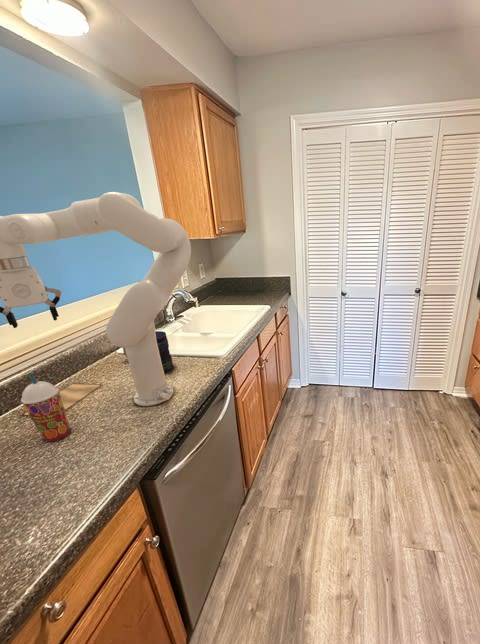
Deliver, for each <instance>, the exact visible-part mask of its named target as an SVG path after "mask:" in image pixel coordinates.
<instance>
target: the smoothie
mask: <svg viewBox="0 0 480 644" xmlns="http://www.w3.org/2000/svg"><path fill="white" fill-rule="evenodd" d="M29 376H30V379H31V380H32V382H31V383H30V384H28V385H27V386H26V387H25V388H24V389H23V392H22V394H21V399H20V402H21V403H22V404H23V407H24V408H25V409H26V413H27V412H28V414H29V415H28V416H29V417H30V419H31V421H32V422H33V423H34V426H35V428H36V429H37V432H39V435H40V436H41V438H42V439H44V440H45V441H47V442H55V441H58V440H60V439H63V438H64V437H66V436H67V435H69V432H70V428H71V425H70V422H69V419H68V415H67V413H66V410H65V409H64V406H63V403H62V400H61V396H60V393H59V392H60V390H59V388H58V387H57V386H55V385H54V384H52V383H51V382H48V381H43V380H42V381H41V380H40V381H37V379H36V377H35V375H34V373H30V374H29Z"/></svg>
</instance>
